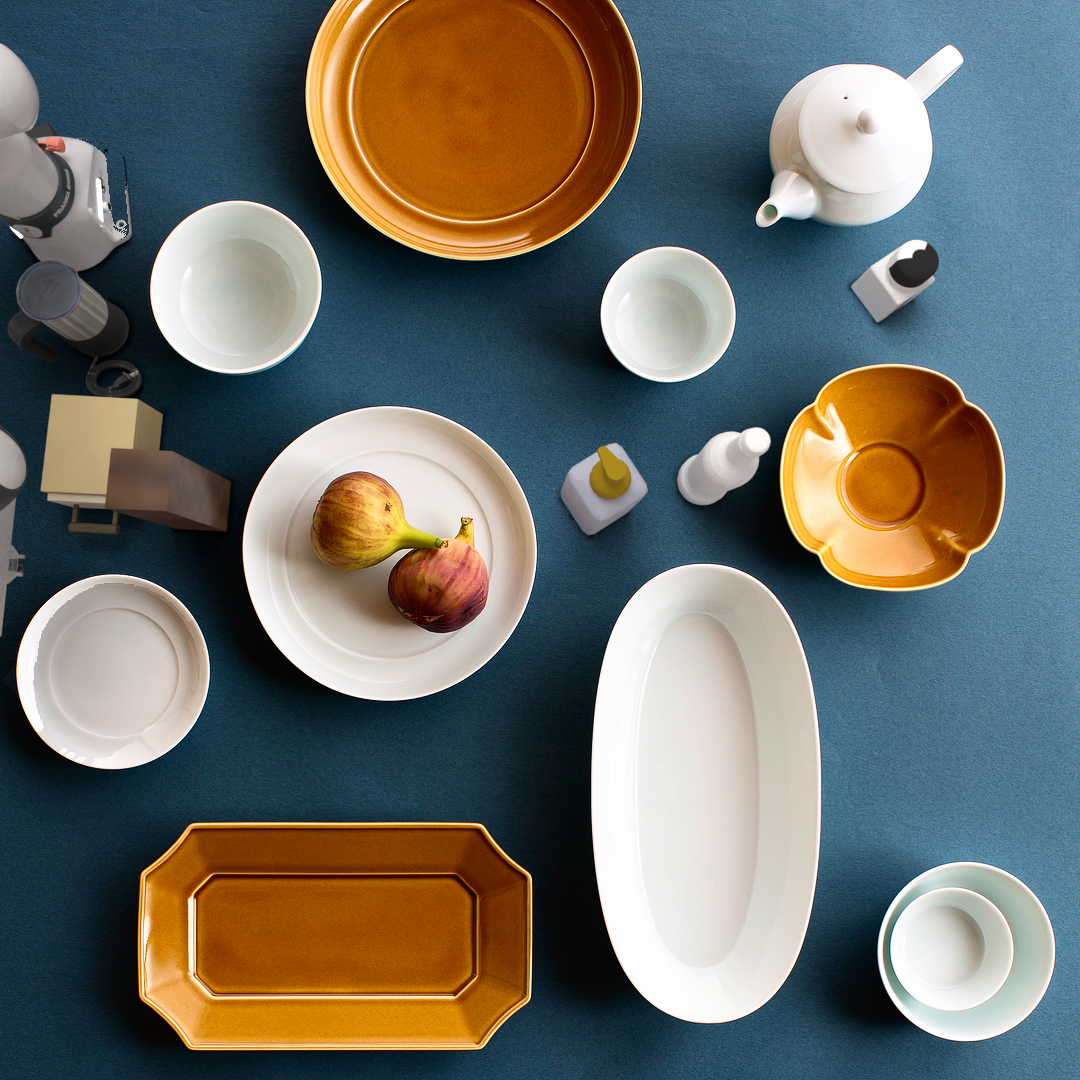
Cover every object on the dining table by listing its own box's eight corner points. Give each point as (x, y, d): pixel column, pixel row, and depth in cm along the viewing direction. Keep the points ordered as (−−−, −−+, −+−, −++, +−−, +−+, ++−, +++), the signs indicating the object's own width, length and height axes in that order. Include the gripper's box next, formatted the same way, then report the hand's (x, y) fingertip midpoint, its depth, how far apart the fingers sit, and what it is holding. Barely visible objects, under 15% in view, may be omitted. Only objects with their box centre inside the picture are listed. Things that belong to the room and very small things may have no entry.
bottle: (693, 448, 129) (749, 394, 99) (734, 476, 129) (802, 431, 99) (665, 487, 128) (713, 445, 98) (706, 516, 128) (767, 483, 98)
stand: (180, 478, 125) (110, 447, 103) (231, 481, 125) (173, 451, 104) (175, 529, 124) (104, 508, 102) (226, 531, 124) (167, 511, 103)
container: (912, 299, 133) (955, 264, 120) (876, 323, 133) (916, 291, 120) (885, 262, 134) (925, 224, 121) (849, 287, 133) (885, 250, 120)
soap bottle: (602, 463, 128) (625, 423, 103) (633, 509, 127) (663, 480, 103) (556, 492, 127) (568, 459, 102) (586, 539, 127) (606, 517, 102)
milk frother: (93, 291, 128) (38, 247, 113) (176, 339, 127) (133, 302, 113) (43, 364, 126) (-19, 330, 111) (127, 413, 126) (77, 385, 111)
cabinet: (153, 504, 124) (127, 495, 116) (72, 500, 124) (40, 491, 115) (163, 414, 126) (138, 398, 118) (82, 409, 126) (51, 393, 117)
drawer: (143, 537, 123) (122, 532, 116) (69, 534, 123) (43, 528, 116) (155, 426, 125) (135, 415, 118) (81, 422, 125) (57, 411, 118)
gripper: (-71, 470, 94) (3, 488, 107) (-92, 643, 92) (-14, 639, 105) (-17, 472, 94) (50, 490, 108) (-36, 645, 92) (34, 641, 106)
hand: (18, 565), depth 107 cm, fingers closed
